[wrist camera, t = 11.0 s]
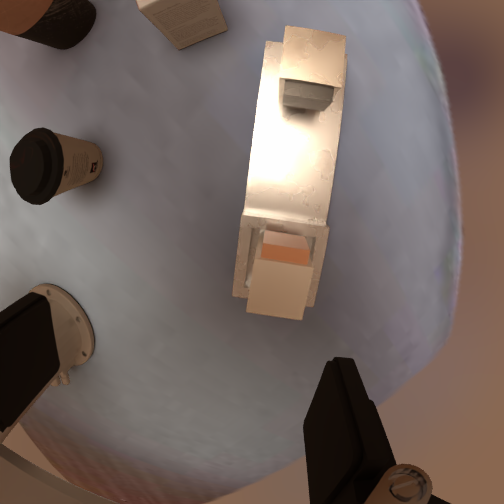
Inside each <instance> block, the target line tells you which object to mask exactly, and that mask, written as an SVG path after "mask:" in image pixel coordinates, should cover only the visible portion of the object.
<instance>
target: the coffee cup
mask: <svg viewBox="0 0 504 504" xmlns="http://www.w3.org/2000/svg"><path fill="white" fill-rule="evenodd" d="M102 166H103V157H102V152H101V150H100V149H99V147H98V146H97V145H96V144H94V143H91V142H88V141H84V140H81V139H77V138H73V137H69V136H65V135H61V134H57V133H53V132H52V131H51V130H49V129H46V128H37V129H34V130H32V131H31V132H29V133H28V134H26V135H25V136H24V137H23V138H22V139H21V140H20V141H19V142H18V143H17V145H16V146H15V147H14V149H13V151H12V154H11V156H10V173H11V181H12V183H13V185H14V188H15V189H16V191H17V193H18V194H19V195H20V197H21V198H22V199H23V200H25V201H27V202H29V203H31V204H34V205H42V204H44V203H46V202H48V201H49V200H50V199H51V198H52V197H54V196H56V195H59V194H61V193H63V192H66V191H68V190H71V189H73V188H75V187H78V186H80V185H83V184H85V183H88V182H91V181H93V180H94V179H95V178H97V177H98V175H99V173H100V172H101V169H102Z"/></svg>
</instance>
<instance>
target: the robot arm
mask: <svg viewBox="0 0 504 504" xmlns="http://www.w3.org/2000/svg"><path fill="white" fill-rule="evenodd" d="M93 349H94V336H93V331H92V328H91V325H90V323H89V320H88V318H87V316H86V315H85V313H84V311H83V310H82V308H81V307H80V306H79V304H78V303H77V302H76V301H75V300H74V299H73V298H72V297H71V296H70V295H69V294H68V293H66V292H65V291H64V290H62V289H61V288H59V287H57V286H54V285H51V284H41V285H38V286H36V287H34V288H33V289H32V290H30V291H29V293H28V294H27V295H25V296H24V297H22V298H21V299H19V300H18V301H16V302H15V303H13V304H12V305H10V306H9V307H7V308H6V309H4V310H3V311H1V312H0V504H119V503H116V502H114V501H111V500H108V499H106V498H103V497H101V496H98V495H96V494H93V493H91V492H88V491H86V490H84V489H82V488H79V487H77V486H75V485H73V484H71V483H69V482H67V481H64V480H63V479H61V478H58V477H56V476H55V475H52V474H51V473H49V472H47V471H45V470H43V469H41V468H40V467H38V466H36V465H35V464H32V463H31V462H29V461H28V460H26V459H24V458H23V457H21V456H20V455H18V454H16V453H15V452H13V451H12V450H10V449H8V448H7V447H6V446H4V445H3V444H2V442H3V441H4V440H5V438H6V437H7V436H8V434H9V433H10V432H11V430H12V429H13V428H14V426H15V425H16V424H17V423H18V422H19V421H20V419H21V418H22V417H23V416H24V415H25V413H26V412H27V411H28V410H29V409H30V407H31V406H32V405H33V404H34V403H35V402H36V400H37V399H38V398H39V397H40V396H41V395H42V394H43V392H44V391H45V390H46V389H47V388H48V387H49V385H50V384H51V385H52V386H59V385H60V383H61V380H62V383H63V384H64V385H68V384H69V383H70V378H69V375H68V373H67V372H68V370H69V369H70V368H71V367H72V366H78V365H82V364H83V363H85V362H86V361H87V360H88V359H89V358H90V356H91V355H92V353H93ZM59 375H60V377H61V380H60V377H59ZM303 432H304V442H305V452H306V462H307V473H308V485H309V497H310V504H450V503H448V502H446V501H444V500H442V499H440V498H438V497H436V496H434V495H432V494H431V493H432V489H433V488H432V481H431V480H430V477H429V476H428V475H427V473H425V472H424V470H422V469H420V468H419V467H417V466H414V465H411V464H399V465H397V464H396V461H395V459H394V455H393V453H392V450H391V447H390V444H389V441H388V439H387V436H386V433H385V430H384V428H383V425H382V422H381V419H380V417H379V414H378V412H377V409H376V406H375V404H374V402H373V401H372V400H369V398H368V395H367V393H366V390H365V387H364V385H363V382H362V380H361V377H360V374H359V372H358V369H357V367H356V364H355V362H354V360H353V359H352V358H343V357H334V358H333V360H332V361H327V363H326V365H325V368H324V370H323V373H322V376H321V379H320V381H319V384H318V387H317V389H316V392H315V395H314V397H313V400H312V402H311V405H310V407H309V410H308V412H307V415H306V417H305V420H304V425H303Z"/></svg>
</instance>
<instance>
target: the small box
mask: <svg viewBox="0 0 504 504" xmlns="http://www.w3.org/2000/svg"><path fill="white" fill-rule="evenodd" d="M136 3H137V6H138V9H139V10H140V12H142V13H143V14H144V15H145V16H146V17H147V18H148V19H149V20H150V21H151V22H152V23H153V24H154V25H155V26H156V27H157V28H158V29H159V30H160V31H161V32H162V33H163V34H164V35H165V36H166V37H167V39H168V40H169V41H170V42H171V43H172V44H173V45H174V46H175V47H176V48H177V49H178V50H180V49H183V48H185V47H187V46H189V45H192V44H194V43H196V42H199V41H201V40H204V39H206V38H209V37H211V36H214V35H216V34H219V33H222V32H224V31H227V30H228V28H227V25H226V22H225V20H224V17H223V15H222V12H221V9H220V7H219V4H218V1H217V0H136Z"/></svg>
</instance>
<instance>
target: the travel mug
mask: <svg viewBox="0 0 504 504" xmlns="http://www.w3.org/2000/svg"><path fill="white" fill-rule="evenodd" d="M95 17H96V10H95V7H94V6H93V4H92V3H90V2H89V1H88V0H0V31H3V32H6V33H9V34H12V35H15V36H18V37H22V38H25V39H29V40H32V41H35V42H38V43H41V44H45V45H48V46H51V47H54V48H57V49H68V48H70V47H73V46H74V45H76V44H77V43H79V42H80V41H81V40H82V39H83V38H84V37H85V36H86V35H87V33H88V32H89V31H90V29H91V27H92V26H93V23H94V21H95Z"/></svg>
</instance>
